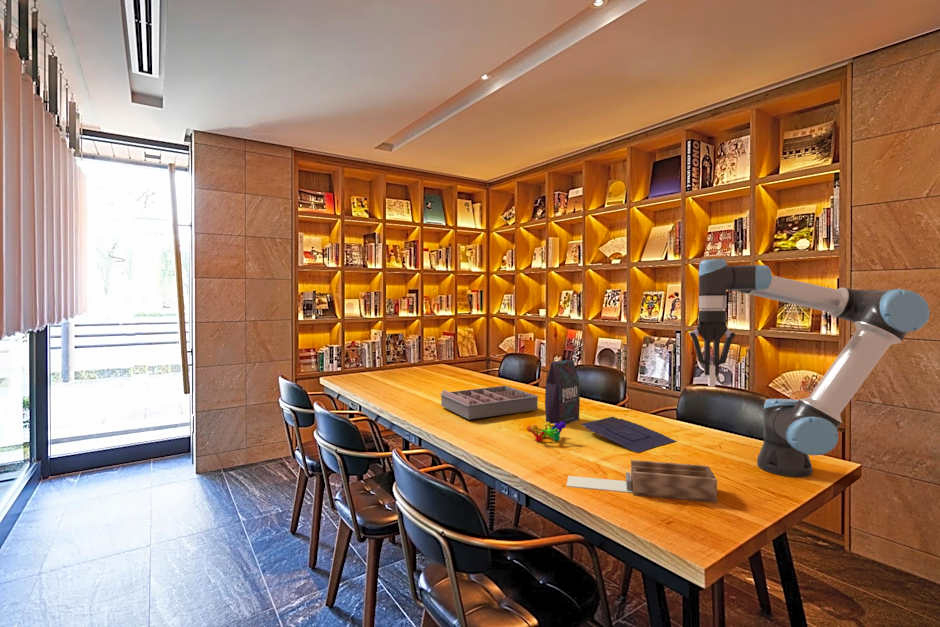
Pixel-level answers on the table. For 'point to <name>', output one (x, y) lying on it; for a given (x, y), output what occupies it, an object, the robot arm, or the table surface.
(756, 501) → the table surface
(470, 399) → the organizer tray
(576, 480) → the lid
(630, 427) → the dark blue flat slab
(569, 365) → the black coffee bag
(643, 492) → the box
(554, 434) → the decorative model
